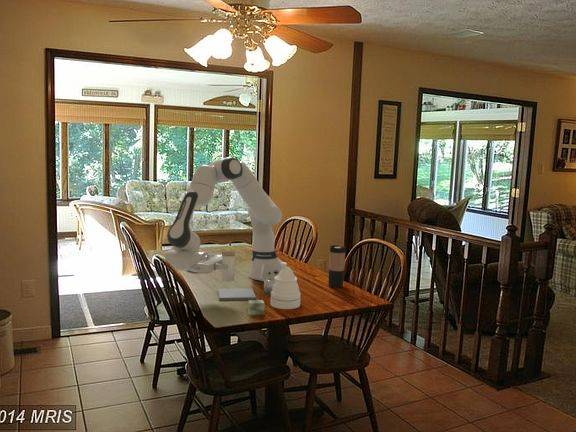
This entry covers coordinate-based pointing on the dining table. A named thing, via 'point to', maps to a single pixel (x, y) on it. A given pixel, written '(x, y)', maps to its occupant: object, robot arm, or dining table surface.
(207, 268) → the robot arm
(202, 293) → the dining table surface
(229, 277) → the white lidded jar
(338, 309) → the dining table surface
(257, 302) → the sage block
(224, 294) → the serving board
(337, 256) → the travel mug
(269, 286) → the metal tin
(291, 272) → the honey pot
